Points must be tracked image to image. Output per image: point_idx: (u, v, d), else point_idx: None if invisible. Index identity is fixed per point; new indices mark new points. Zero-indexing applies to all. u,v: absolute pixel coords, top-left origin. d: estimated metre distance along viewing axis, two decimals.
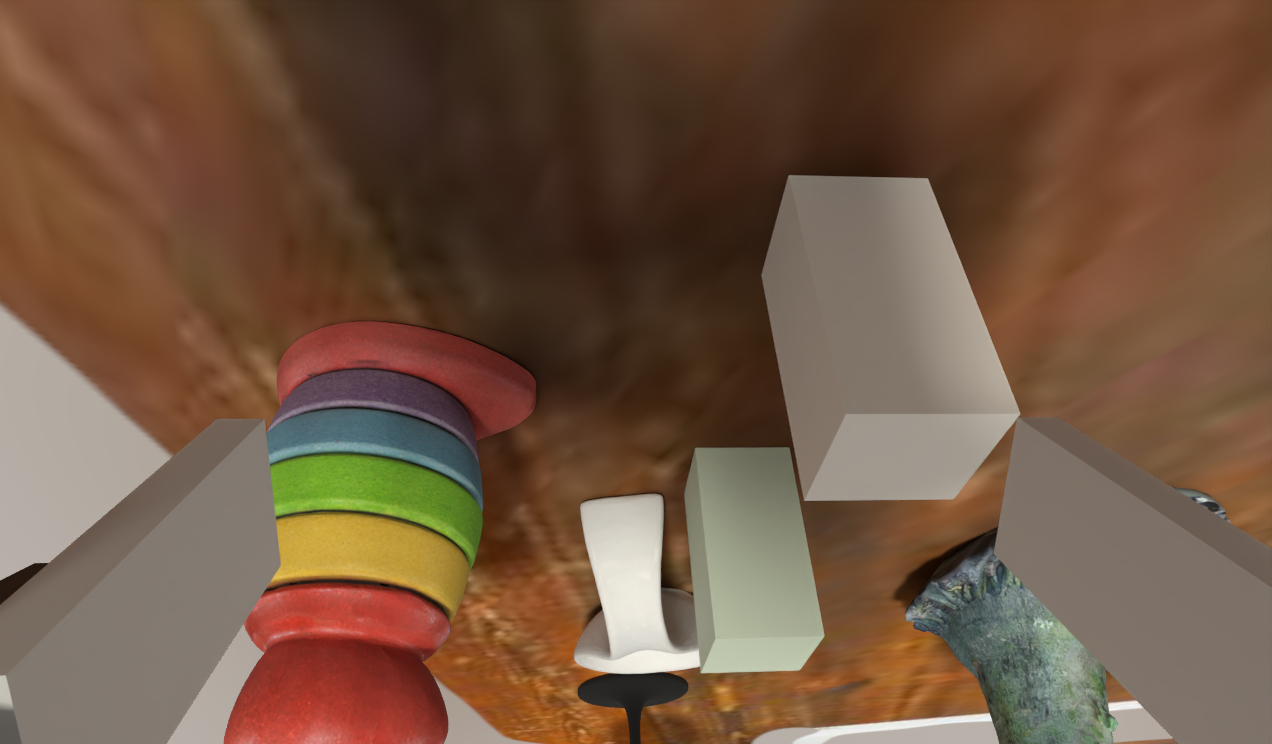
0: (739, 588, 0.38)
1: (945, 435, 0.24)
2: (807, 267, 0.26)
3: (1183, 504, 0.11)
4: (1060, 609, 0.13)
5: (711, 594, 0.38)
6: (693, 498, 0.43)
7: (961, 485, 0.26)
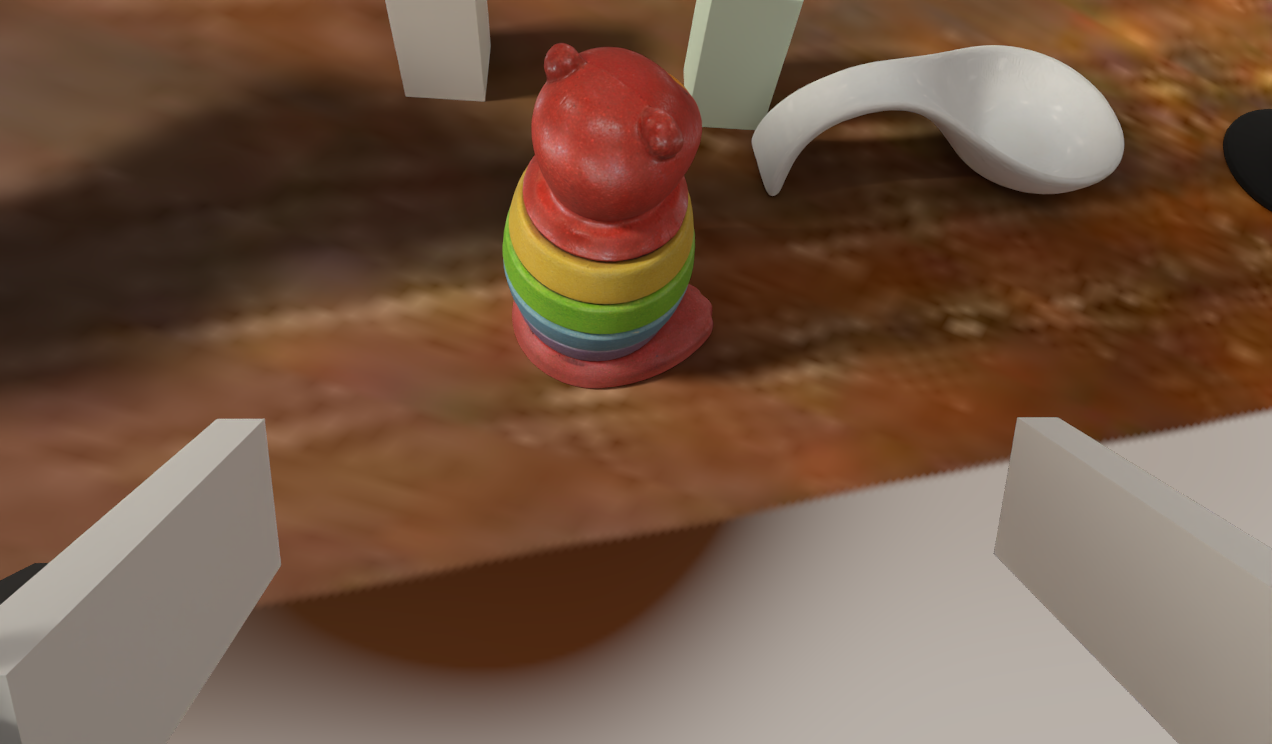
0: (704, 12, 0.47)
1: None
2: (398, 43, 0.49)
3: (1183, 504, 0.11)
4: (1060, 608, 0.13)
5: (707, 25, 0.46)
6: (722, 106, 0.52)
7: None
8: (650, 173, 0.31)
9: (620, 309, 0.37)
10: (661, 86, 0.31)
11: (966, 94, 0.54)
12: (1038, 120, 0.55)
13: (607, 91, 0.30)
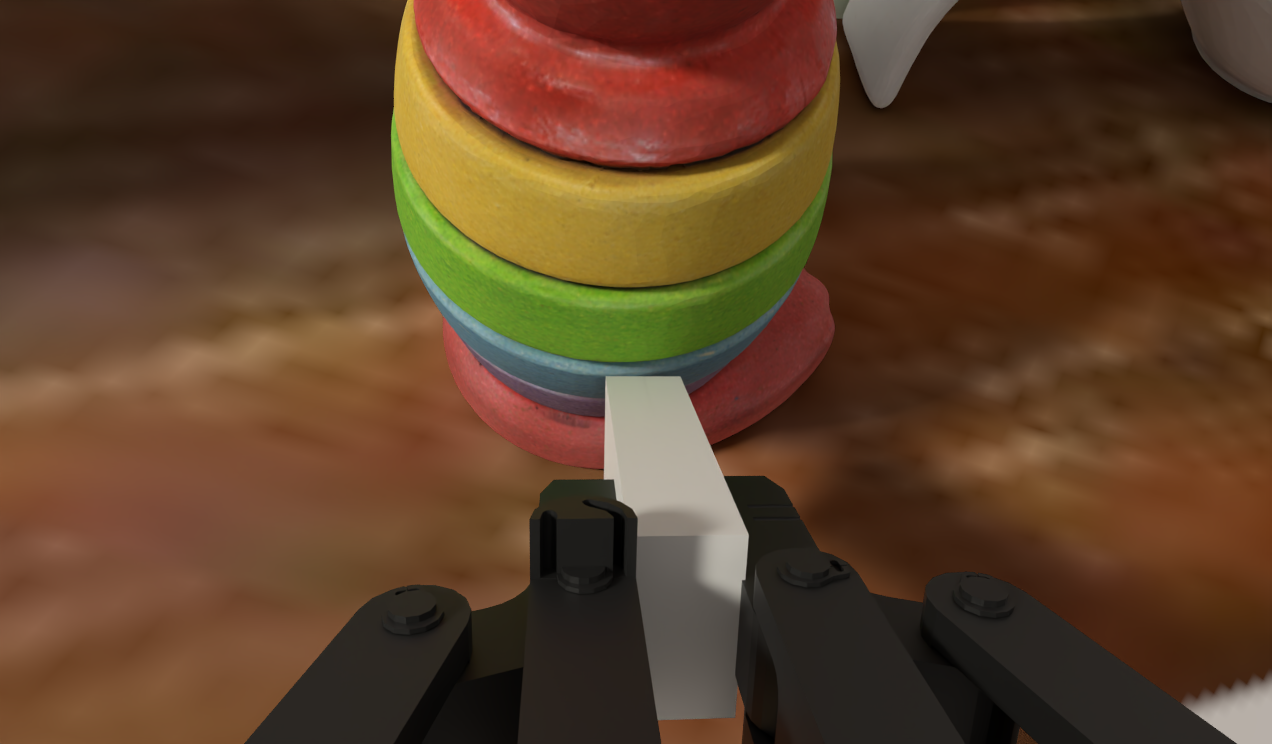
0: None
1: None
2: None
3: (694, 441, 0.13)
4: None
5: None
6: None
7: None
8: None
9: (675, 300, 0.15)
10: None
11: None
12: None
13: None
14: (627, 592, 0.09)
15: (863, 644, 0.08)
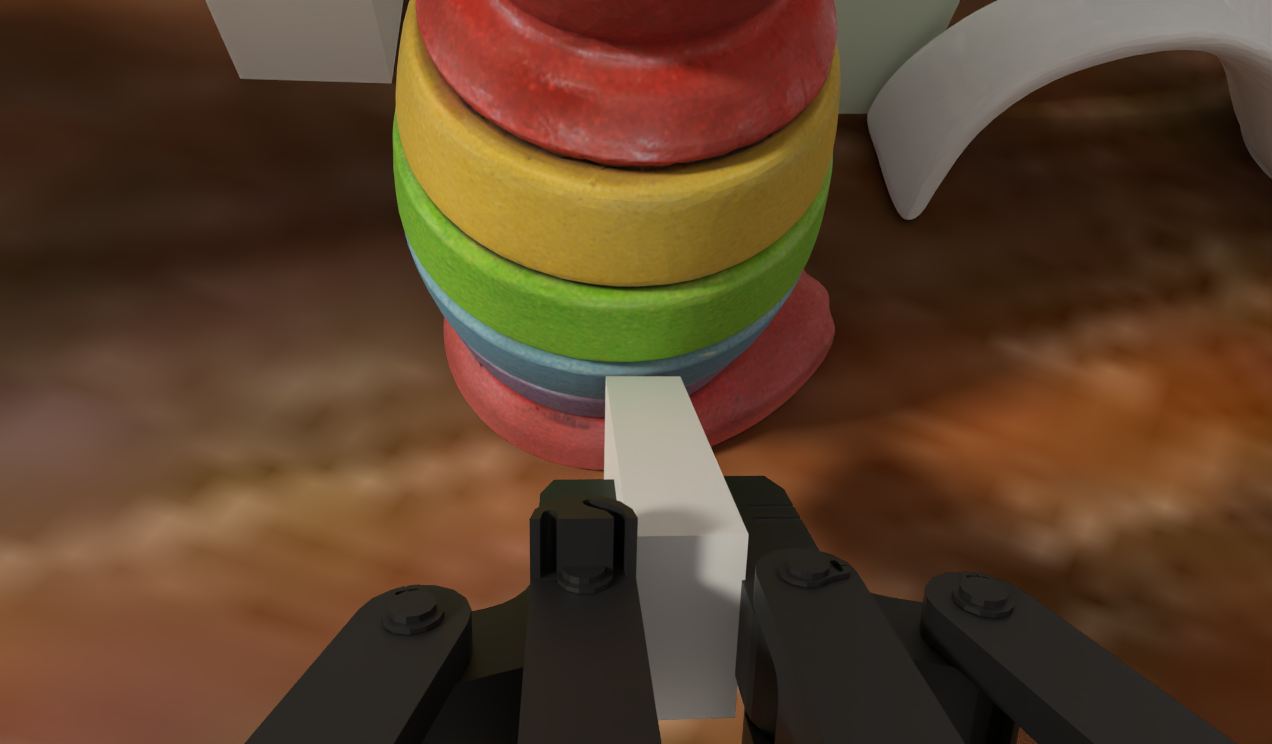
0: None
1: None
2: None
3: (693, 441, 0.13)
4: None
5: None
6: (840, 72, 0.27)
7: None
8: None
9: (676, 299, 0.15)
10: None
11: None
12: None
13: None
14: (627, 592, 0.09)
15: (863, 645, 0.08)
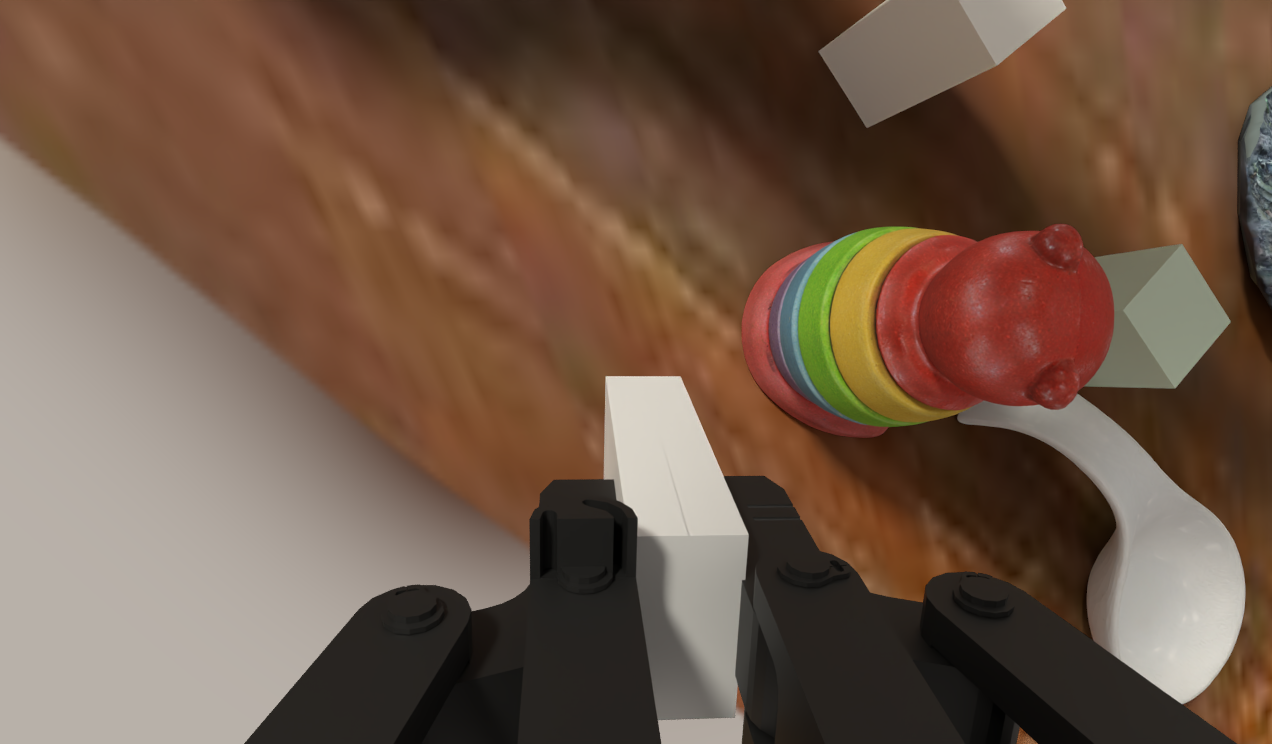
0: None
1: None
2: (864, 24, 0.41)
3: (694, 441, 0.13)
4: None
5: None
6: None
7: None
8: (1008, 395, 0.30)
9: (854, 402, 0.36)
10: (1098, 352, 0.29)
11: (1162, 532, 0.50)
12: (1173, 604, 0.52)
13: (1063, 316, 0.28)
14: (627, 592, 0.09)
15: (863, 644, 0.08)
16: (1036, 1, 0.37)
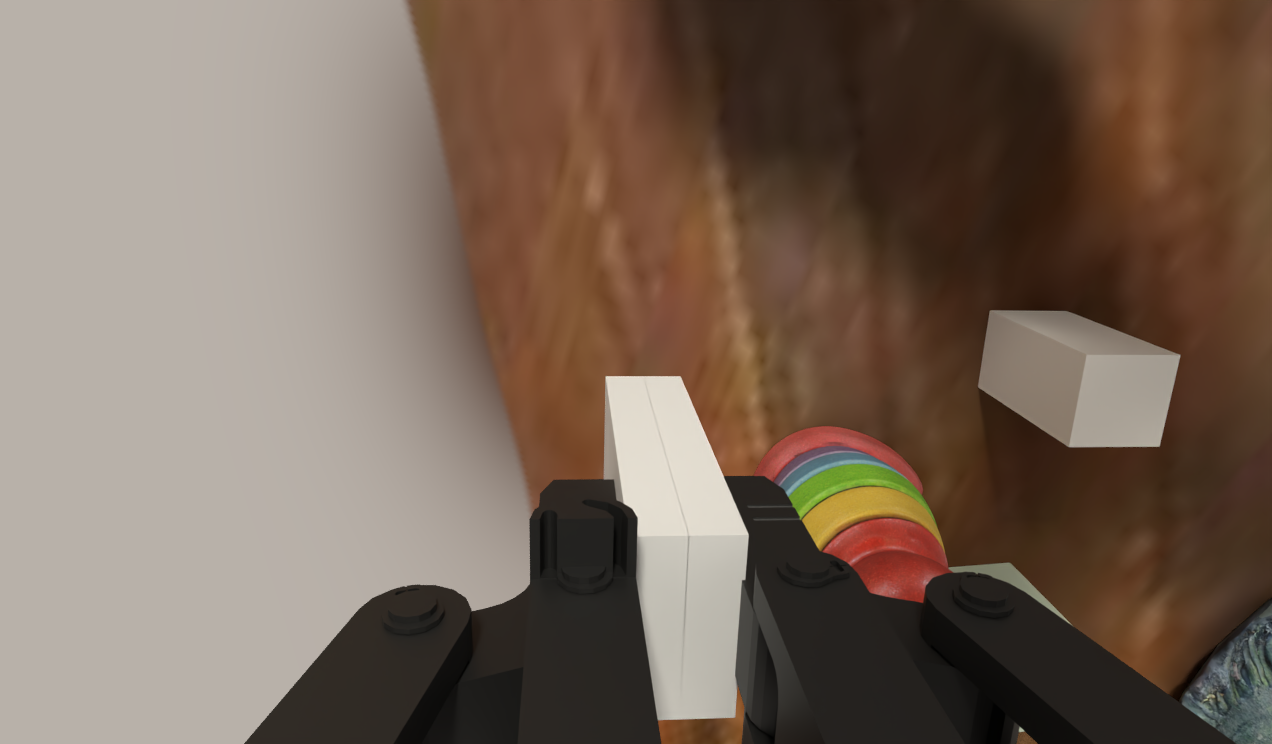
0: None
1: (1143, 376, 0.42)
2: (1024, 330, 0.47)
3: (694, 441, 0.13)
4: None
5: None
6: None
7: (1161, 430, 0.43)
8: None
9: None
10: None
11: None
12: None
13: None
14: (627, 592, 0.09)
15: (862, 645, 0.08)
16: (1140, 426, 0.43)
